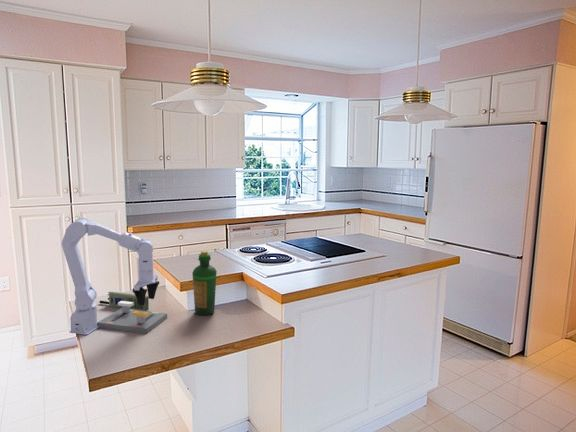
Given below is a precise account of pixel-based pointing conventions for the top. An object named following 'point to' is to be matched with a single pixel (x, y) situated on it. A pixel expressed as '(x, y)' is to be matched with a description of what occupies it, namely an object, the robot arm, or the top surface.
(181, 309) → the top surface
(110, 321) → the switch panel
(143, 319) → the amber switch
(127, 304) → the white switch
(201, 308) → the bottle
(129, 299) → the handheld radio
